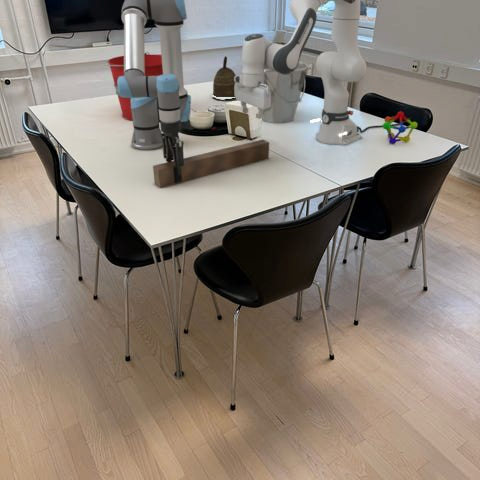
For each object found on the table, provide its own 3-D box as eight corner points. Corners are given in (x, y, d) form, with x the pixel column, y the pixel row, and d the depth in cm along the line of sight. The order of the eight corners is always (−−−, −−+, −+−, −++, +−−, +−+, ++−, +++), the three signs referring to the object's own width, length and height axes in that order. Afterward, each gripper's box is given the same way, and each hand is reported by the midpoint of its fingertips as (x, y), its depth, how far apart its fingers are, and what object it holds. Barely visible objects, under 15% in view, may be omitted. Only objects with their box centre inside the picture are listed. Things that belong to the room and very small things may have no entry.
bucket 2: (277, 130, 226) (280, 73, 211) (239, 117, 245) (239, 64, 230) (315, 118, 243) (320, 65, 228) (277, 107, 261) (279, 57, 247)
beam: (160, 187, 167) (158, 169, 163) (154, 183, 170) (152, 165, 167) (268, 158, 193) (269, 142, 189) (262, 155, 196) (262, 139, 192)
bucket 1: (122, 105, 263) (114, 51, 248) (180, 106, 263) (177, 52, 247) (105, 123, 234) (95, 63, 218) (171, 124, 233) (166, 64, 217)
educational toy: (377, 146, 209) (379, 114, 202) (384, 138, 219) (386, 107, 211) (411, 149, 202) (415, 116, 195) (417, 141, 212) (420, 109, 204)
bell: (227, 105, 294) (202, 96, 282) (238, 66, 289) (213, 55, 277) (243, 108, 280) (217, 98, 268) (255, 66, 275) (229, 55, 263)
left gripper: (191, 124, 156) (194, 185, 168) (168, 113, 168) (173, 170, 180) (172, 128, 152) (177, 190, 164) (150, 116, 164) (156, 174, 177)
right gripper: (275, 84, 167) (273, 120, 175) (244, 74, 182) (243, 108, 189) (262, 86, 164) (261, 123, 172) (231, 76, 178) (231, 110, 186)
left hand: (175, 179), depth 172 cm, fingers closed on beam, 5 cm apart
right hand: (251, 115), depth 180 cm, fingers open, 8 cm apart
